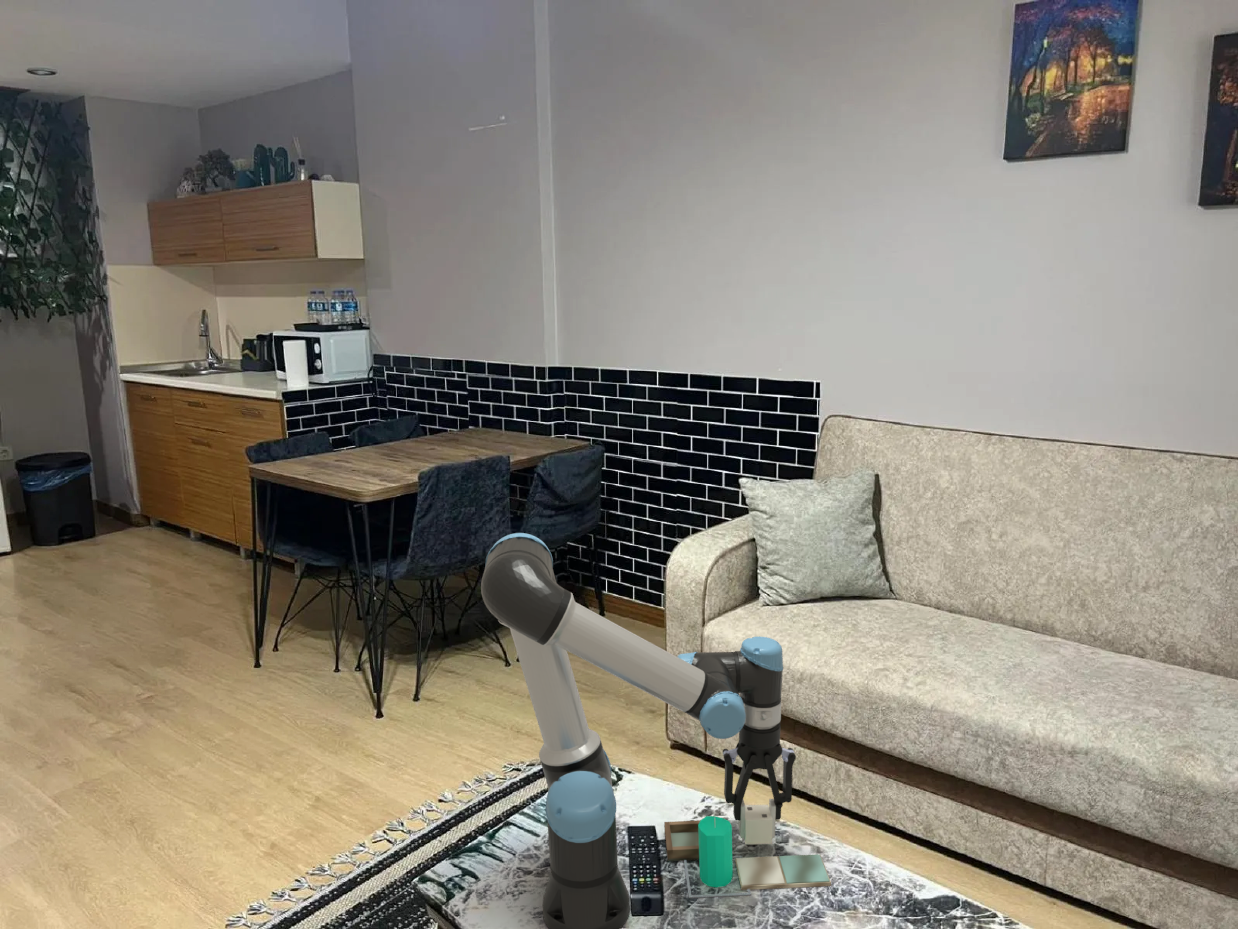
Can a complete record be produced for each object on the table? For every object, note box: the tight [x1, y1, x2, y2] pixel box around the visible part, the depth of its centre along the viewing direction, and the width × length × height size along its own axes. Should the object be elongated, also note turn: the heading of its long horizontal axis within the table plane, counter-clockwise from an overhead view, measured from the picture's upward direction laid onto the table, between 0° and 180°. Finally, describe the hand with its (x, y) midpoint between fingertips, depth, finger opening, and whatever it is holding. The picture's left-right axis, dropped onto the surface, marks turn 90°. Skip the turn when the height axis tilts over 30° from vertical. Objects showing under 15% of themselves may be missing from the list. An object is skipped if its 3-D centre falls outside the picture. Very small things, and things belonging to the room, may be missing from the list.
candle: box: [698, 815, 734, 888], centre depth 166 cm, size 6×6×12 cm
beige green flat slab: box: [734, 853, 832, 891], centre depth 167 cm, size 16×8×1 cm, turn 91°
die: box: [743, 804, 773, 845], centre depth 173 cm, size 5×5×5 cm
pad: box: [683, 855, 752, 899], centre depth 167 cm, size 11×11×1 cm
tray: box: [663, 819, 701, 862], centre depth 176 cm, size 10×9×2 cm
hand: (756, 833), depth 174 cm, fingers closed on die, 5 cm apart
